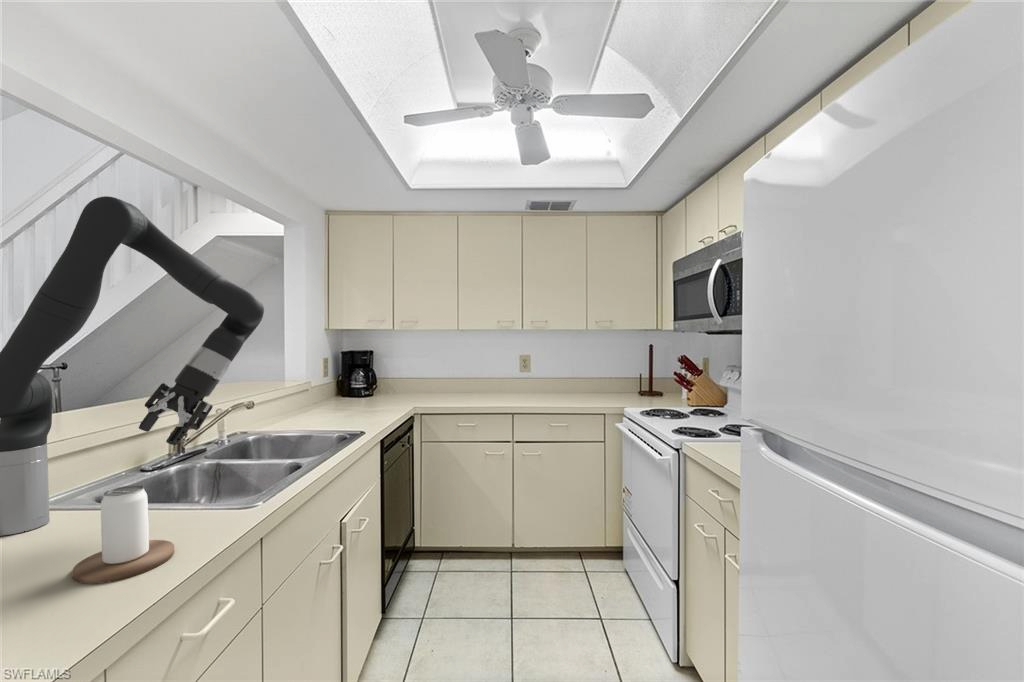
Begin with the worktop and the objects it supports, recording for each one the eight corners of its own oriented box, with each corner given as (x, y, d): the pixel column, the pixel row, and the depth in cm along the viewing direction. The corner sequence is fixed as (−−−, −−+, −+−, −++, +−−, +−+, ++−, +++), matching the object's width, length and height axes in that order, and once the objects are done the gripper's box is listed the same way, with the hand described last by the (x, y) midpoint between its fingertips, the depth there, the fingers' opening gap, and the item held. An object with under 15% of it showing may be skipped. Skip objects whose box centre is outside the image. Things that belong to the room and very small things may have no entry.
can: (121, 567, 80) (119, 497, 80) (92, 563, 82) (90, 494, 82) (158, 550, 87) (156, 485, 86) (130, 546, 88) (128, 483, 88)
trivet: (50, 578, 79) (50, 572, 79) (134, 542, 92) (134, 537, 92) (116, 587, 76) (116, 581, 76) (193, 548, 89) (192, 543, 89)
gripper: (169, 355, 106) (119, 420, 100) (215, 374, 102) (165, 444, 96) (193, 368, 112) (148, 431, 106) (238, 387, 108) (193, 453, 102)
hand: (156, 437), depth 101 cm, fingers open, 8 cm apart
